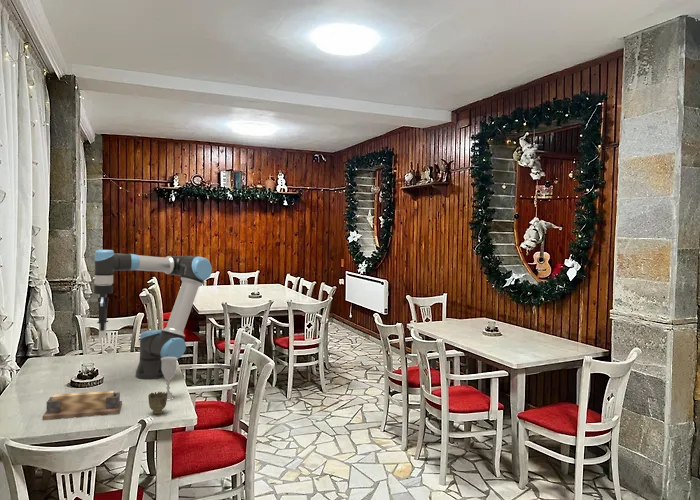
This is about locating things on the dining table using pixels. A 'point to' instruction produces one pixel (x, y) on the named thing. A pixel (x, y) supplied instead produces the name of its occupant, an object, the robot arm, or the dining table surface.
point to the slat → (82, 400)
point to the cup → (157, 401)
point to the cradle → (54, 410)
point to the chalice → (168, 371)
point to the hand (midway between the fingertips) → (102, 337)
